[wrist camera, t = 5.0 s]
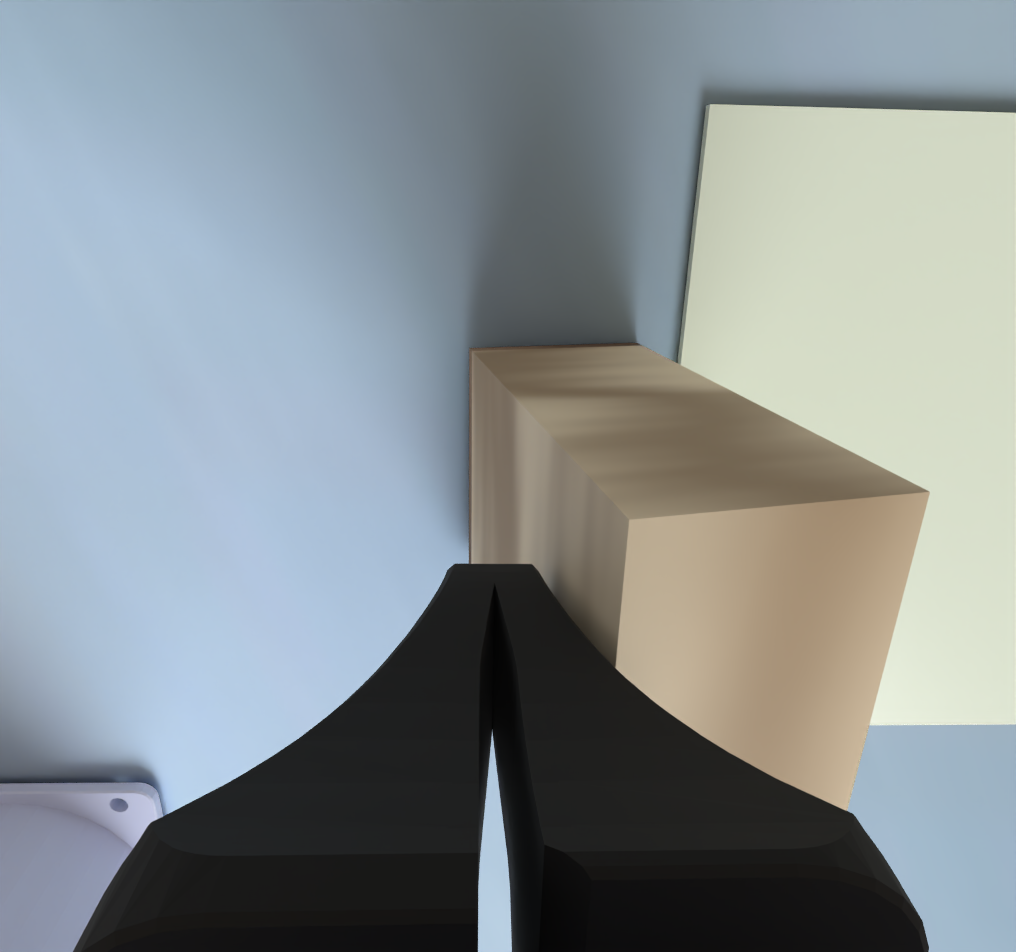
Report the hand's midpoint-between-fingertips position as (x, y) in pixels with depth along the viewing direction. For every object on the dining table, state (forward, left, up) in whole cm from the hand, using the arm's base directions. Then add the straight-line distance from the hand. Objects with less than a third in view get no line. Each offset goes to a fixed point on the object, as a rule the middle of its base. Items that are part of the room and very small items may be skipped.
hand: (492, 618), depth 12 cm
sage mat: (+11, 0, -7) cm, 13 cm away
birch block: (+1, 0, -7) cm, 7 cm away
